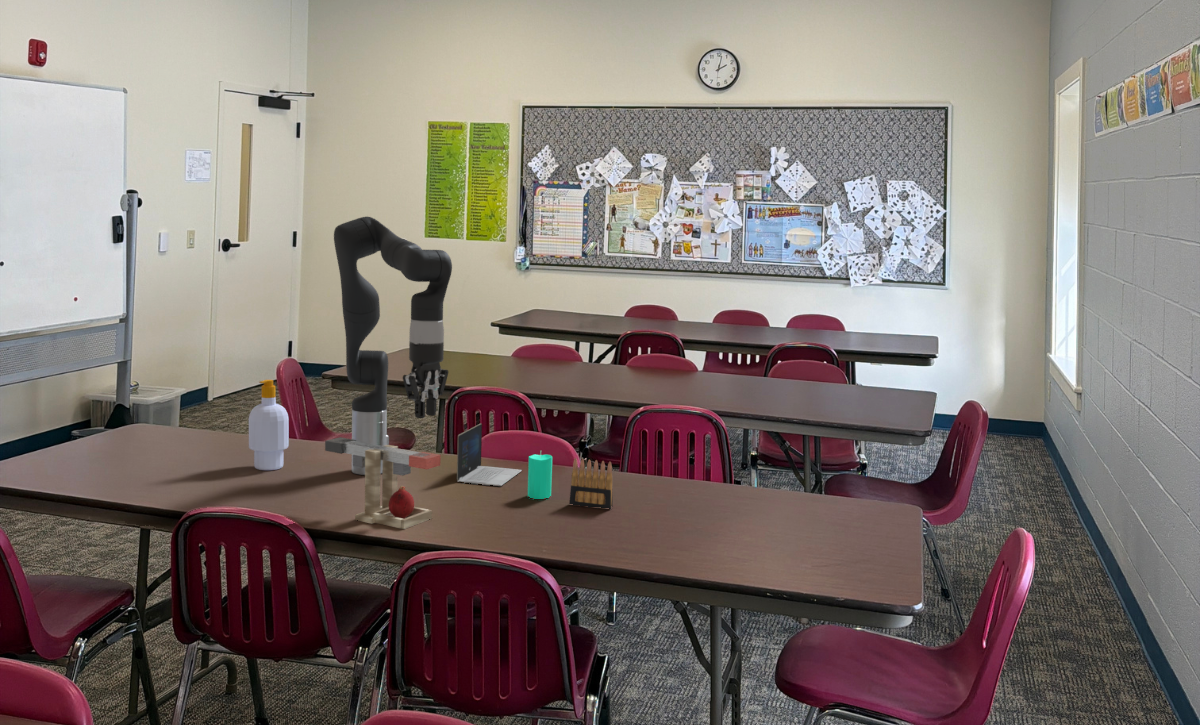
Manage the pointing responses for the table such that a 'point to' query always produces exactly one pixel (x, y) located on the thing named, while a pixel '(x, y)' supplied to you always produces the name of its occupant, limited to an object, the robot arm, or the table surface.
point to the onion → (401, 503)
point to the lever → (384, 455)
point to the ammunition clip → (591, 485)
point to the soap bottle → (268, 430)
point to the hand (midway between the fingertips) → (425, 416)
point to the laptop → (478, 461)
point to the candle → (539, 476)
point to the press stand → (385, 495)
